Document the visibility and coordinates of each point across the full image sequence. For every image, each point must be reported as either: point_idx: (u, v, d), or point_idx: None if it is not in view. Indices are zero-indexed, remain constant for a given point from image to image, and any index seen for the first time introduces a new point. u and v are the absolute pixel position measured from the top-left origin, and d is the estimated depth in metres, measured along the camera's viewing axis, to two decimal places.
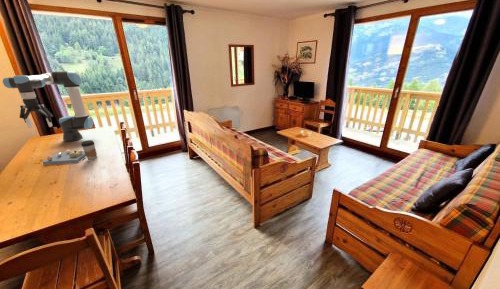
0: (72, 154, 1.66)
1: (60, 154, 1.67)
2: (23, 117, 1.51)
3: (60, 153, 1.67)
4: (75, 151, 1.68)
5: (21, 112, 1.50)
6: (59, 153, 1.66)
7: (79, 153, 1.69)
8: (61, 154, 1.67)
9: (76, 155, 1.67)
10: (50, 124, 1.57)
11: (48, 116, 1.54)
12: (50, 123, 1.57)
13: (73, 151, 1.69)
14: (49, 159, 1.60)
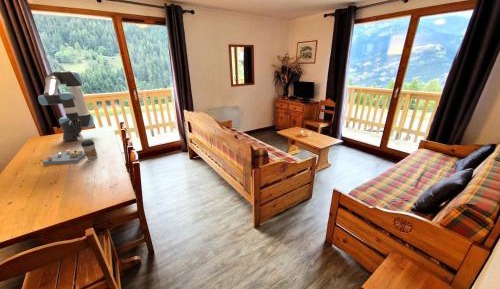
0: (72, 154, 1.66)
1: (60, 154, 1.67)
2: None
3: (60, 153, 1.67)
4: (75, 151, 1.68)
5: None
6: (59, 153, 1.66)
7: (79, 153, 1.69)
8: (61, 154, 1.67)
9: (76, 155, 1.67)
10: (79, 138, 1.74)
11: None
12: (79, 137, 1.74)
13: (73, 151, 1.69)
14: (49, 159, 1.60)
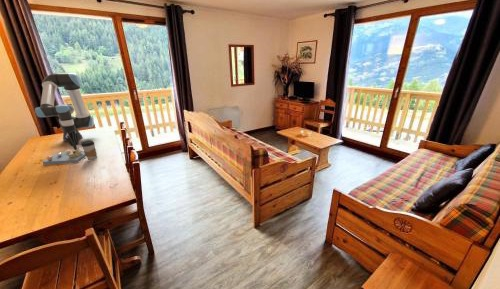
0: (71, 155, 1.65)
1: (60, 154, 1.67)
2: None
3: (60, 153, 1.67)
4: (74, 152, 1.66)
5: None
6: (59, 153, 1.66)
7: (78, 154, 1.67)
8: (61, 154, 1.67)
9: (75, 156, 1.65)
10: None
11: None
12: (76, 150, 1.69)
13: (72, 152, 1.68)
14: (49, 159, 1.60)
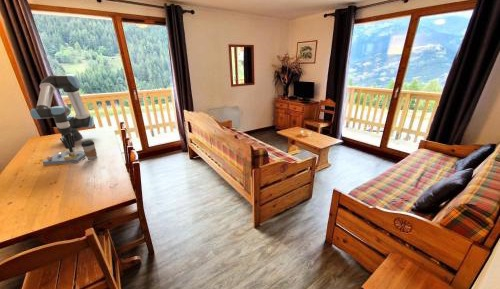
0: (67, 158, 1.60)
1: (60, 154, 1.67)
2: None
3: (60, 153, 1.67)
4: (70, 154, 1.62)
5: None
6: (59, 153, 1.66)
7: (74, 156, 1.63)
8: (61, 154, 1.67)
9: (71, 159, 1.61)
10: None
11: None
12: (72, 153, 1.65)
13: (68, 154, 1.63)
14: (49, 159, 1.60)
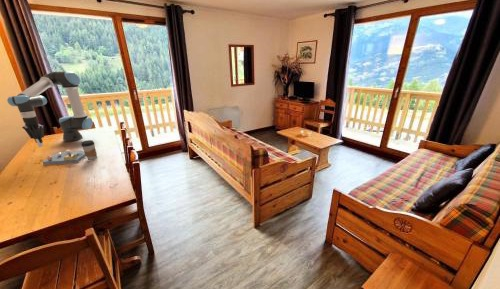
0: (67, 158, 1.60)
1: (60, 154, 1.67)
2: (33, 137, 1.58)
3: (60, 153, 1.67)
4: (70, 155, 1.61)
5: (28, 132, 1.56)
6: (59, 153, 1.66)
7: (74, 157, 1.62)
8: (61, 154, 1.67)
9: (71, 159, 1.60)
10: (41, 144, 1.62)
11: (39, 137, 1.59)
12: (41, 143, 1.62)
13: (68, 154, 1.63)
14: (49, 159, 1.60)
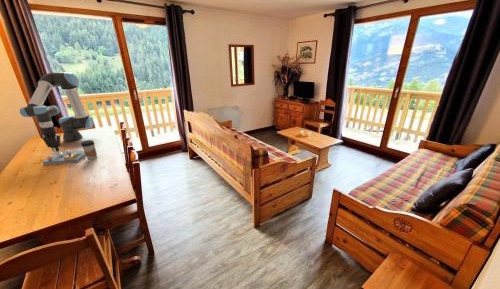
0: (67, 158, 1.60)
1: (62, 155, 1.67)
2: (51, 146, 1.63)
3: (63, 154, 1.67)
4: (70, 155, 1.61)
5: (45, 141, 1.61)
6: (62, 154, 1.67)
7: (74, 157, 1.62)
8: None
9: (71, 159, 1.60)
10: (57, 153, 1.66)
11: (56, 146, 1.63)
12: (57, 152, 1.66)
13: (68, 154, 1.63)
14: (49, 159, 1.60)
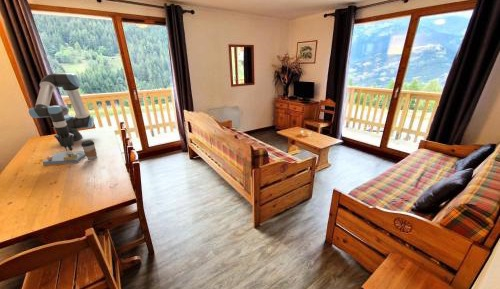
0: (67, 158, 1.60)
1: None
2: (64, 146, 1.64)
3: None
4: (70, 155, 1.61)
5: (59, 141, 1.62)
6: None
7: (74, 157, 1.62)
8: None
9: (71, 159, 1.60)
10: (71, 152, 1.68)
11: (69, 145, 1.65)
12: (71, 151, 1.68)
13: (68, 154, 1.63)
14: (49, 159, 1.60)
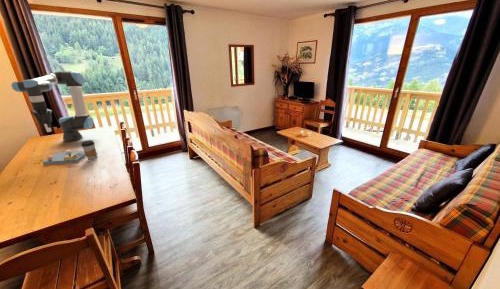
0: (67, 158, 1.60)
1: None
2: (42, 122, 1.59)
3: None
4: (70, 155, 1.61)
5: (36, 117, 1.57)
6: None
7: (74, 157, 1.62)
8: None
9: (71, 159, 1.60)
10: (49, 129, 1.63)
11: None
12: (49, 128, 1.63)
13: (68, 154, 1.63)
14: (49, 159, 1.60)
